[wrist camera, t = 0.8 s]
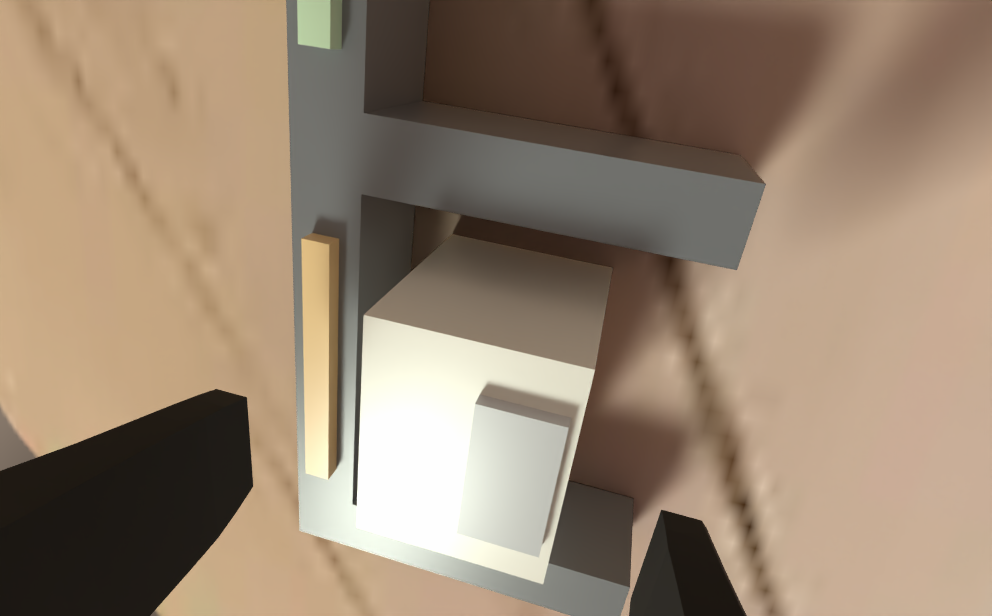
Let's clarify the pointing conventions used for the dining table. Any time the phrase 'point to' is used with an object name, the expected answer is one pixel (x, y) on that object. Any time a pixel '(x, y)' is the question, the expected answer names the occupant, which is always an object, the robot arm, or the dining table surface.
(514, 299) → the plug
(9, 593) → the robot arm
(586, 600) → the socket panel
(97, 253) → the dining table surface
